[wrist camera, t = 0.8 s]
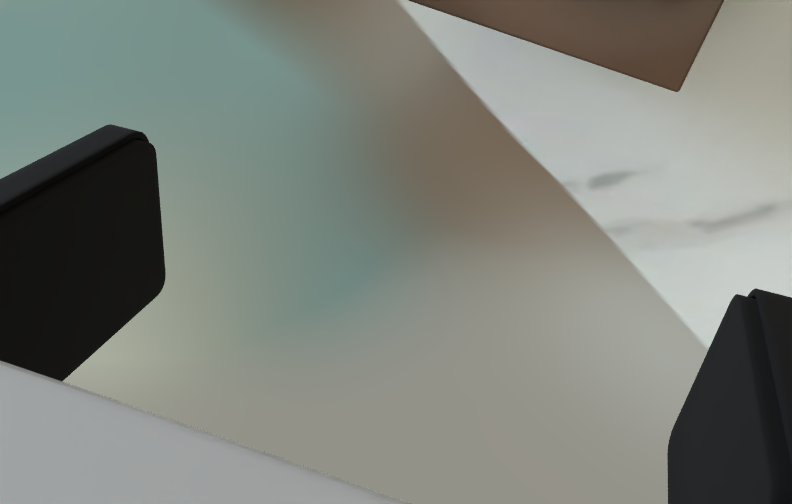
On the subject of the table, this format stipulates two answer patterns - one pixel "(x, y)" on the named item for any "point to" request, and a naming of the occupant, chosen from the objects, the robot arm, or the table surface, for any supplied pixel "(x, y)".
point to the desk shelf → (603, 30)
